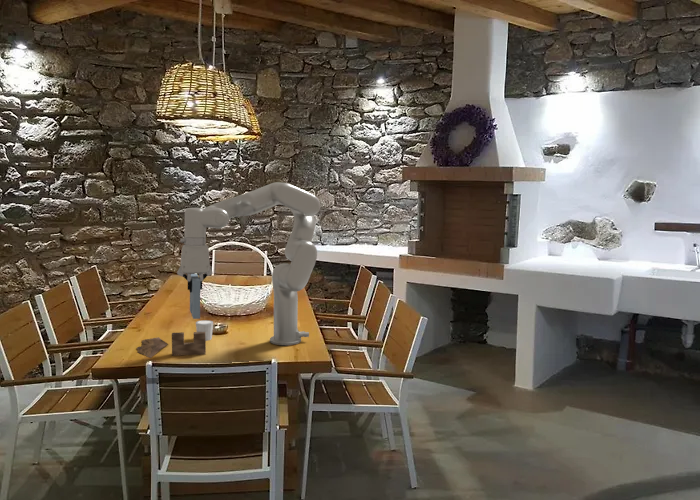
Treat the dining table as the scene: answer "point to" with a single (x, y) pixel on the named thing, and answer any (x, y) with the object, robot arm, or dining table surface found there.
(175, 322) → the dining table surface
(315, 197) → the robot arm
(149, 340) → the wooden fragment
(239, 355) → the dining table surface
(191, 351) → the wood grain block
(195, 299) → the blue-grey notched panel
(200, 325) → the white topped beige cylinder
